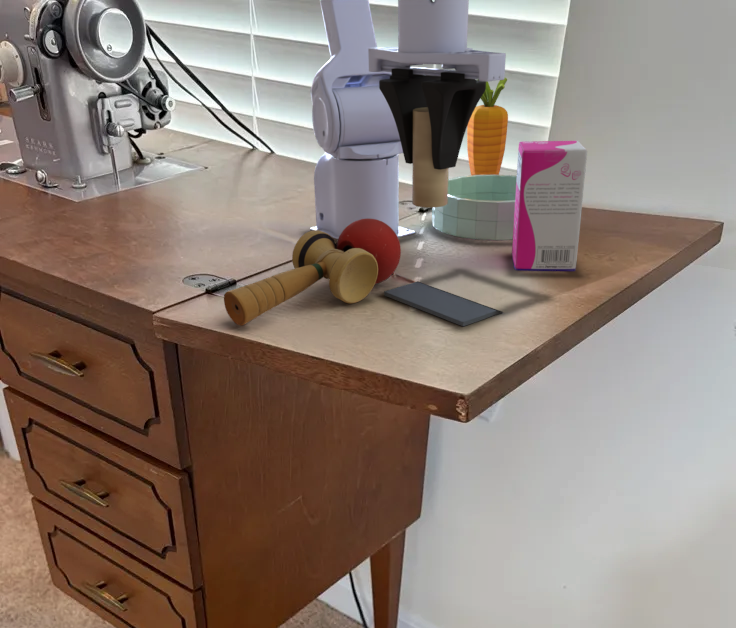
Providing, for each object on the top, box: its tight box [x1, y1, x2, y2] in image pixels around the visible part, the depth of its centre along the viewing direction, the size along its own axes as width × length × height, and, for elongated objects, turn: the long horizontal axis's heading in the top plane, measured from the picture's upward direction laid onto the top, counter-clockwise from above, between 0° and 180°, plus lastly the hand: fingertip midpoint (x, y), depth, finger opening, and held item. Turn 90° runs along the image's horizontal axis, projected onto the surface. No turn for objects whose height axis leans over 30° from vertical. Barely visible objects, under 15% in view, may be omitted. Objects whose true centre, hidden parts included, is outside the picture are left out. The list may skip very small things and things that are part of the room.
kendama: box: [223, 218, 402, 327], centre depth 69 cm, size 8×6×18 cm
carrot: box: [466, 77, 509, 175], centre depth 98 cm, size 5×5×15 cm
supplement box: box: [511, 140, 588, 272], centre depth 75 cm, size 6×6×12 cm
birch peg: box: [411, 107, 450, 209], centre depth 70 cm, size 3×3×8 cm
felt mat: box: [383, 281, 503, 327], centre depth 70 cm, size 10×10×1 cm
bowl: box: [431, 174, 517, 241], centre depth 89 cm, size 14×14×4 cm
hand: (430, 164), depth 70 cm, fingers closed on birch peg, 3 cm apart
